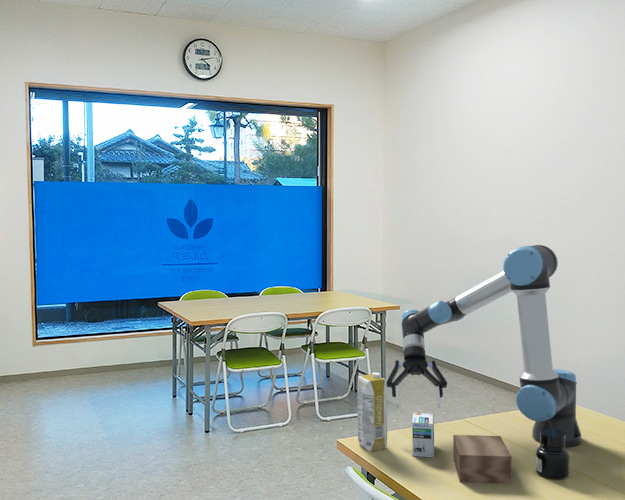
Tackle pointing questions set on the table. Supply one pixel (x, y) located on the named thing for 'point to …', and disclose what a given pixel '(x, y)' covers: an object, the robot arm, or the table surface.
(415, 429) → the light bulb box
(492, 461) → the walnut block
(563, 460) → the ink bottle
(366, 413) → the juice carton
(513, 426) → the table surface
